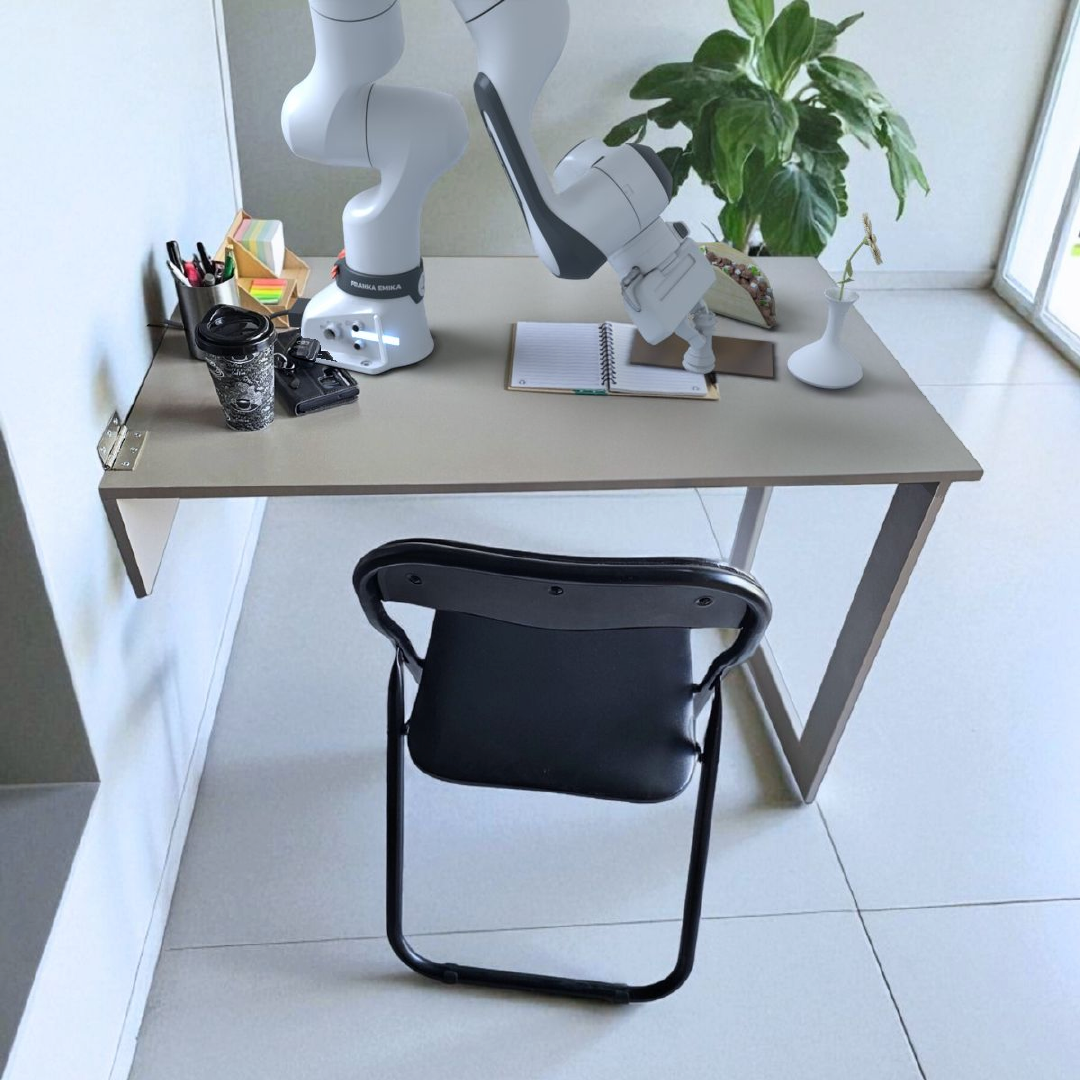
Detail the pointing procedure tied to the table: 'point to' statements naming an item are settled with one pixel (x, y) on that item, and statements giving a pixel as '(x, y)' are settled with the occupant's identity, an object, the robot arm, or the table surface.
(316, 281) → the table surface
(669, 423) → the table surface
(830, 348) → the flower in vase
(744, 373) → the brown wooden board
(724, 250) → the taco
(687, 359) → the rook chess piece
